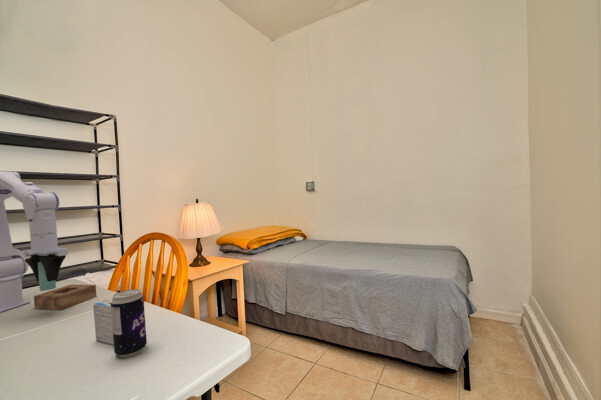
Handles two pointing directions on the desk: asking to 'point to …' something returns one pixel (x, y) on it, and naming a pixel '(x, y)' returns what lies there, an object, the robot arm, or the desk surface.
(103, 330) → the medicine box
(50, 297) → the walnut socket block
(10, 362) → the desk surface
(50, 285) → the teal peg
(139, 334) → the beverage can
